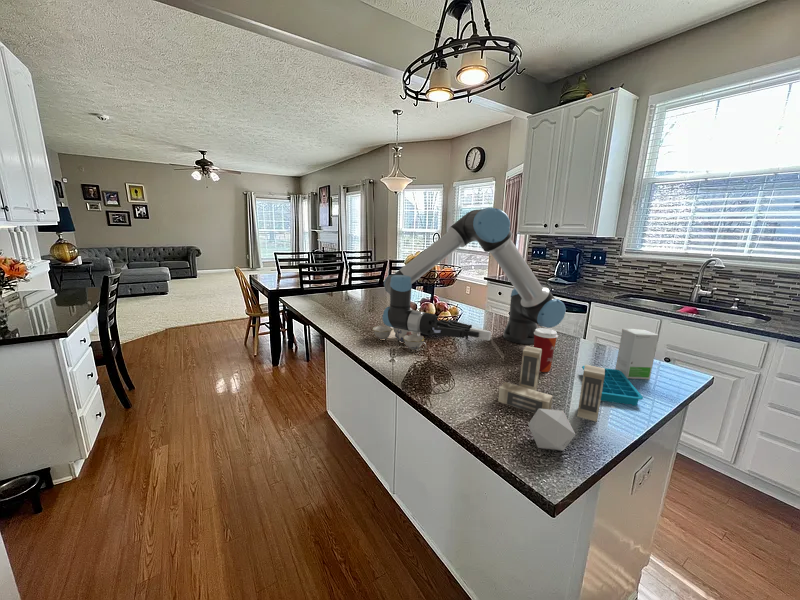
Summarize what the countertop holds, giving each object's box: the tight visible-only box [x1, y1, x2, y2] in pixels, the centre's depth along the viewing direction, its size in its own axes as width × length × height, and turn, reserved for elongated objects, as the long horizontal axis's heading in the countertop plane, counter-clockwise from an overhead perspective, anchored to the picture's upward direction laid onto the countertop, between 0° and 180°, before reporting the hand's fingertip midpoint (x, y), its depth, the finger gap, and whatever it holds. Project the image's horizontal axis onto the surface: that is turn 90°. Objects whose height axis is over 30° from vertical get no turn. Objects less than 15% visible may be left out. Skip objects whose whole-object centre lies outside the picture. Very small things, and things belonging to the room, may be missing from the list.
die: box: [527, 409, 576, 452], centre depth 73 cm, size 8×9×10 cm
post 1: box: [518, 345, 542, 391], centre depth 98 cm, size 5×4×13 cm
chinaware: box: [371, 307, 427, 352], centre depth 136 cm, size 28×17×17 cm, turn 53°
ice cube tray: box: [581, 365, 644, 406], centre depth 101 cm, size 12×20×3 cm, turn 163°
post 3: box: [576, 364, 605, 423], centre depth 85 cm, size 5×4×13 cm
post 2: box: [497, 381, 554, 414], centre depth 90 cm, size 5×4×13 cm
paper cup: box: [533, 327, 559, 373], centre depth 113 cm, size 8×8×14 cm
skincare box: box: [614, 328, 659, 380], centre depth 109 cm, size 8×7×16 cm
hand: (490, 335), depth 102 cm, fingers closed
